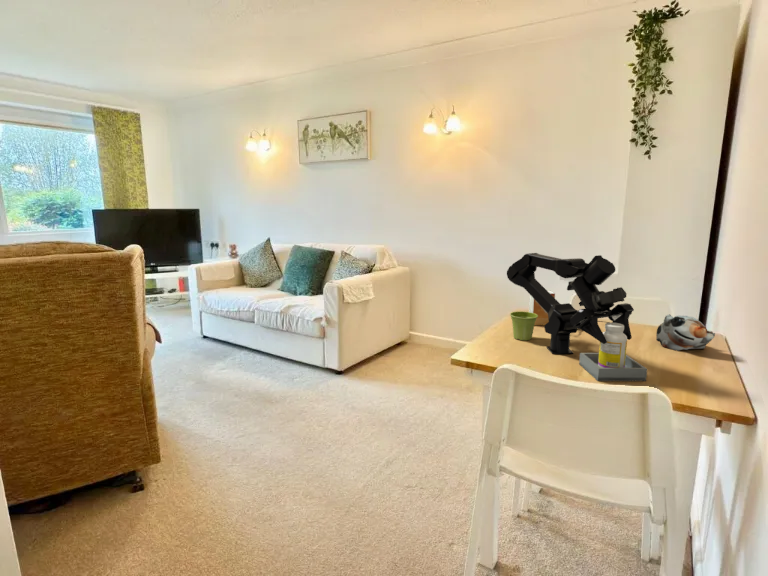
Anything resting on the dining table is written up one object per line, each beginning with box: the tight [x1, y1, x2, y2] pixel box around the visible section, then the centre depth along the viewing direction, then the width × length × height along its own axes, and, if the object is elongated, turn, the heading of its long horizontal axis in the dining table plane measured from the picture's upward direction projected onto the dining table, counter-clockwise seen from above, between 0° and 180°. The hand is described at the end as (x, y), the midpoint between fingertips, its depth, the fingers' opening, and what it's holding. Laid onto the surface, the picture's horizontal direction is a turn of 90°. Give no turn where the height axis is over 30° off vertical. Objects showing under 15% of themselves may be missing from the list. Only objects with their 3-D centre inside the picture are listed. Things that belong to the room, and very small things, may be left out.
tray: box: [578, 352, 648, 382], centre depth 122 cm, size 13×13×4 cm
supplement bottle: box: [598, 322, 628, 368], centre depth 121 cm, size 7×7×13 cm
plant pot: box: [509, 310, 538, 341], centre depth 154 cm, size 9×9×9 cm
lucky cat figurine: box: [655, 314, 716, 352], centre depth 140 cm, size 15×12×14 cm
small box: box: [528, 289, 556, 326], centre depth 171 cm, size 8×6×13 cm
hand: (617, 341), depth 119 cm, fingers open, 9 cm apart
